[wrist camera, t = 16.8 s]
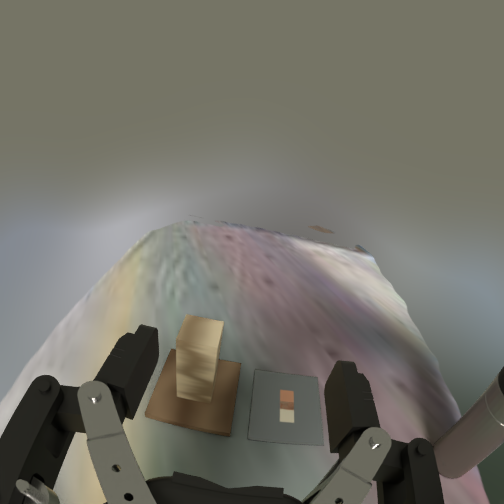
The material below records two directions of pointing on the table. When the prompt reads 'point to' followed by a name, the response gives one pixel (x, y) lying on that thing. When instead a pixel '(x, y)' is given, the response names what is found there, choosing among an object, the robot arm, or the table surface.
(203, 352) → the maple block
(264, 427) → the card
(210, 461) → the table surface
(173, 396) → the walnut board
